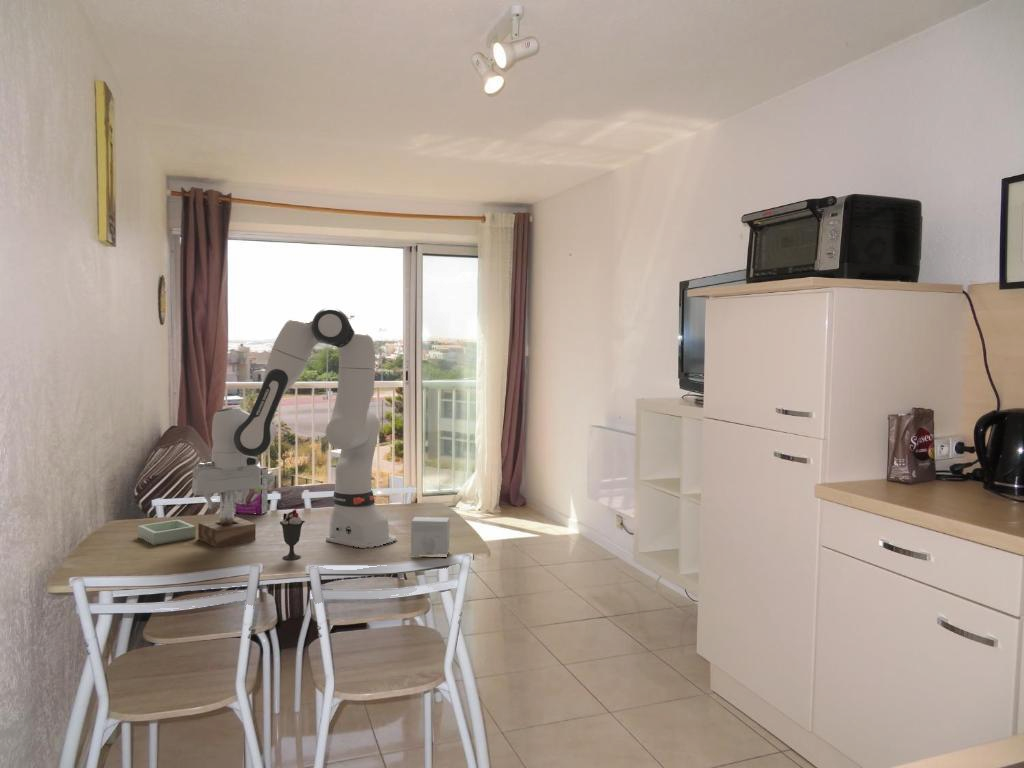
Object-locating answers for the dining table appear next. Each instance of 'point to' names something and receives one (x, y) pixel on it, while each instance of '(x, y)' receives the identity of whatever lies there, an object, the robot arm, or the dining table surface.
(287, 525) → the sundae
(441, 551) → the skincare box
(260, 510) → the candy bar box
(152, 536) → the tray
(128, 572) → the dining table surface
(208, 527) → the socket block
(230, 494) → the steel pin
